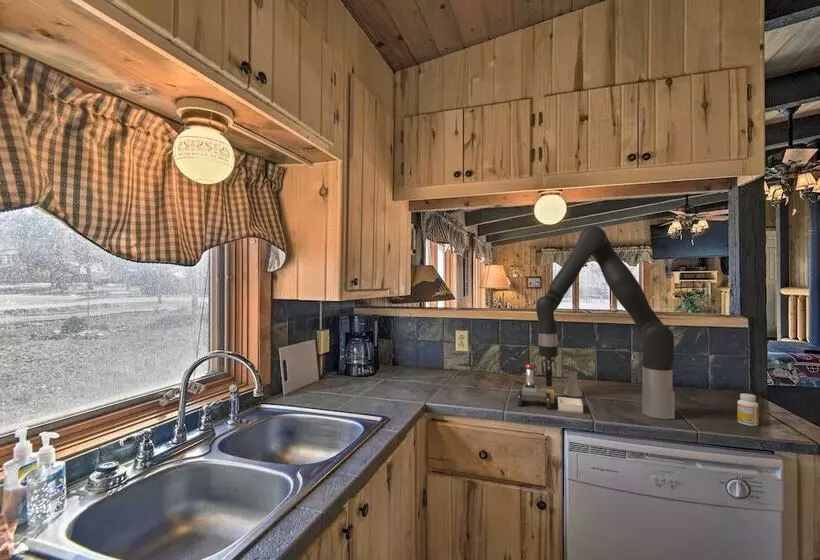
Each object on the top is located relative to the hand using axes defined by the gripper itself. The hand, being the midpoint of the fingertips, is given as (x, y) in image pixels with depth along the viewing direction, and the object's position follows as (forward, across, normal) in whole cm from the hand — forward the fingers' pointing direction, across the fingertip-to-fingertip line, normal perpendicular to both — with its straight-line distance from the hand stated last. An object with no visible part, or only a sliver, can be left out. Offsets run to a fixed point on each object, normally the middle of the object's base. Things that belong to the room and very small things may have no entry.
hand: (549, 386), depth 157 cm
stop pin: (-1, -10, +7) cm, 13 cm away
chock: (+5, -3, +1) cm, 6 cm away
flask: (+6, +9, -10) cm, 14 cm away
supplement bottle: (+7, -6, -64) cm, 64 cm away
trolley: (+5, -10, +6) cm, 13 cm away
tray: (+6, -10, -7) cm, 14 cm away
